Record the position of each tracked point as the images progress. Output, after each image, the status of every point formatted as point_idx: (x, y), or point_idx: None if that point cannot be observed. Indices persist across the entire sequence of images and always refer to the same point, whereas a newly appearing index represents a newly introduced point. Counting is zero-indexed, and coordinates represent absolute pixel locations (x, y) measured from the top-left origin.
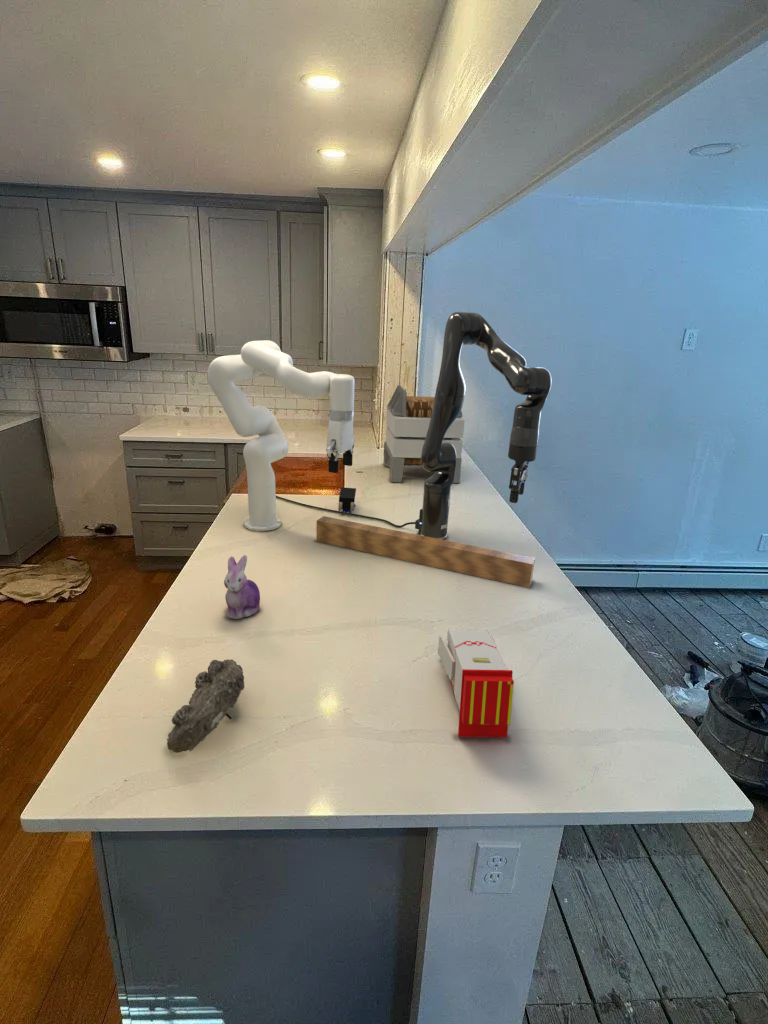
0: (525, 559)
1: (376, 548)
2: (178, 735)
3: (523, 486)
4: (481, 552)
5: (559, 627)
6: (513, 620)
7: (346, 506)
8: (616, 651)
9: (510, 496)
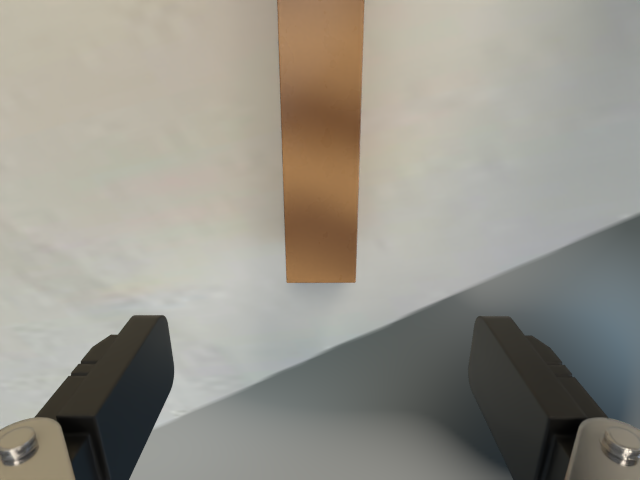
0: (320, 251)
1: None
2: None
3: (506, 452)
4: (297, 48)
5: None
6: (52, 239)
7: None
8: None
9: (107, 353)
